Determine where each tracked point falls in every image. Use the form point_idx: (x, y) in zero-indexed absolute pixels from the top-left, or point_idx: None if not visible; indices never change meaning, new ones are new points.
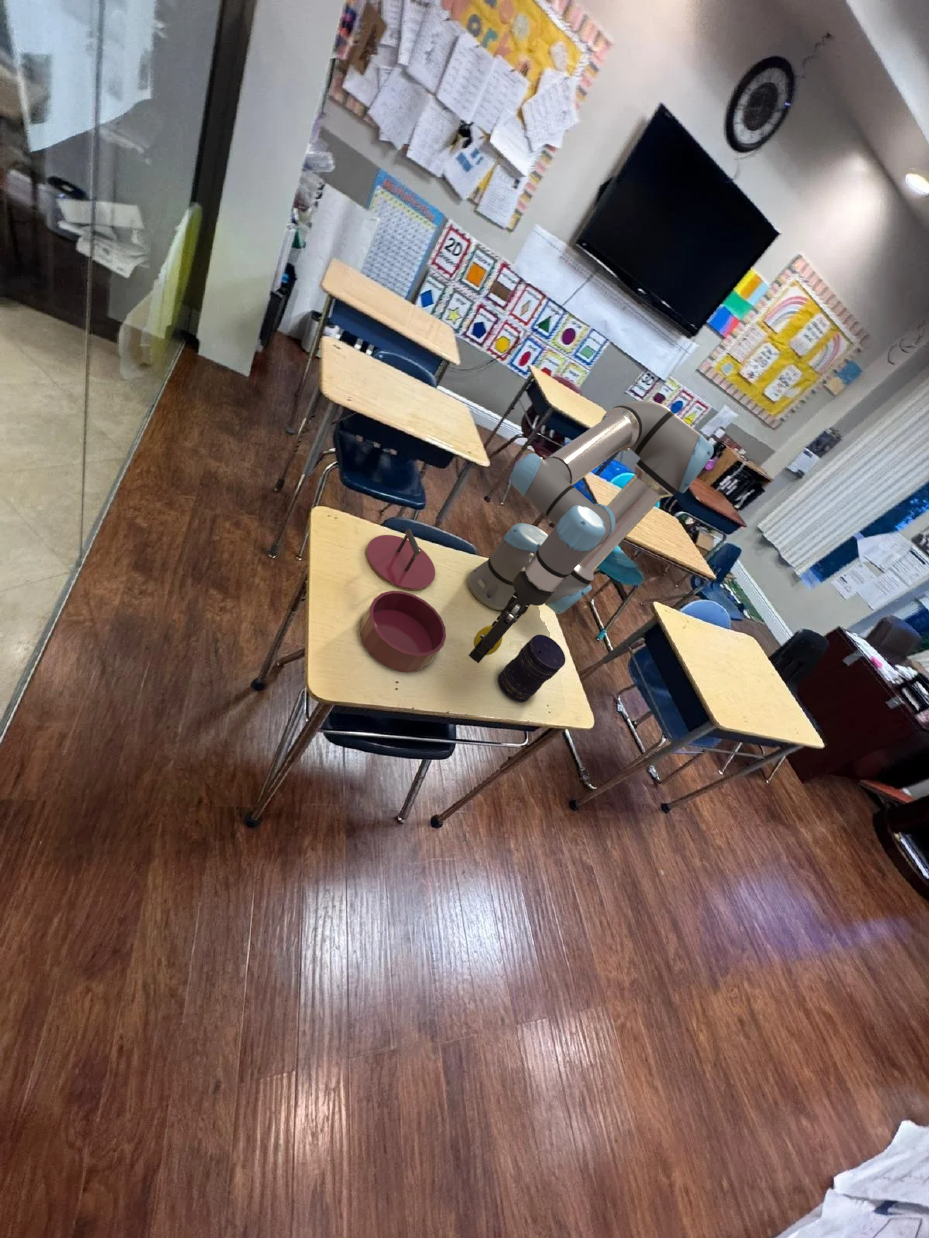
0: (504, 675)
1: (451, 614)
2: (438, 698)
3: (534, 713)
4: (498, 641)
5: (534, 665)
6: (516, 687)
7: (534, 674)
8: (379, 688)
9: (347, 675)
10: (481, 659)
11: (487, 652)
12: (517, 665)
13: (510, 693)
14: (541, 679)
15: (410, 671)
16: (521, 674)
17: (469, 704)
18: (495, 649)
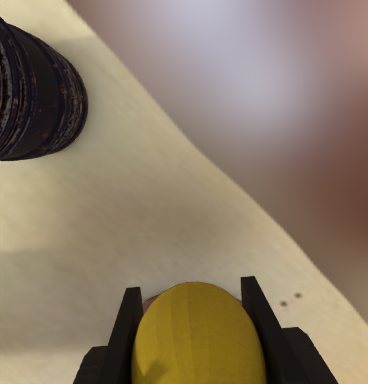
0: (59, 145)
1: (12, 333)
2: (247, 225)
3: (57, 3)
4: (233, 367)
5: (2, 83)
6: (71, 93)
7: (20, 60)
8: (322, 316)
9: (342, 365)
10: (262, 292)
11: (279, 326)
12: (27, 139)
13: (80, 97)
14: (3, 20)
15: (241, 303)
16: (44, 106)
17: (200, 164)
18: (227, 311)
